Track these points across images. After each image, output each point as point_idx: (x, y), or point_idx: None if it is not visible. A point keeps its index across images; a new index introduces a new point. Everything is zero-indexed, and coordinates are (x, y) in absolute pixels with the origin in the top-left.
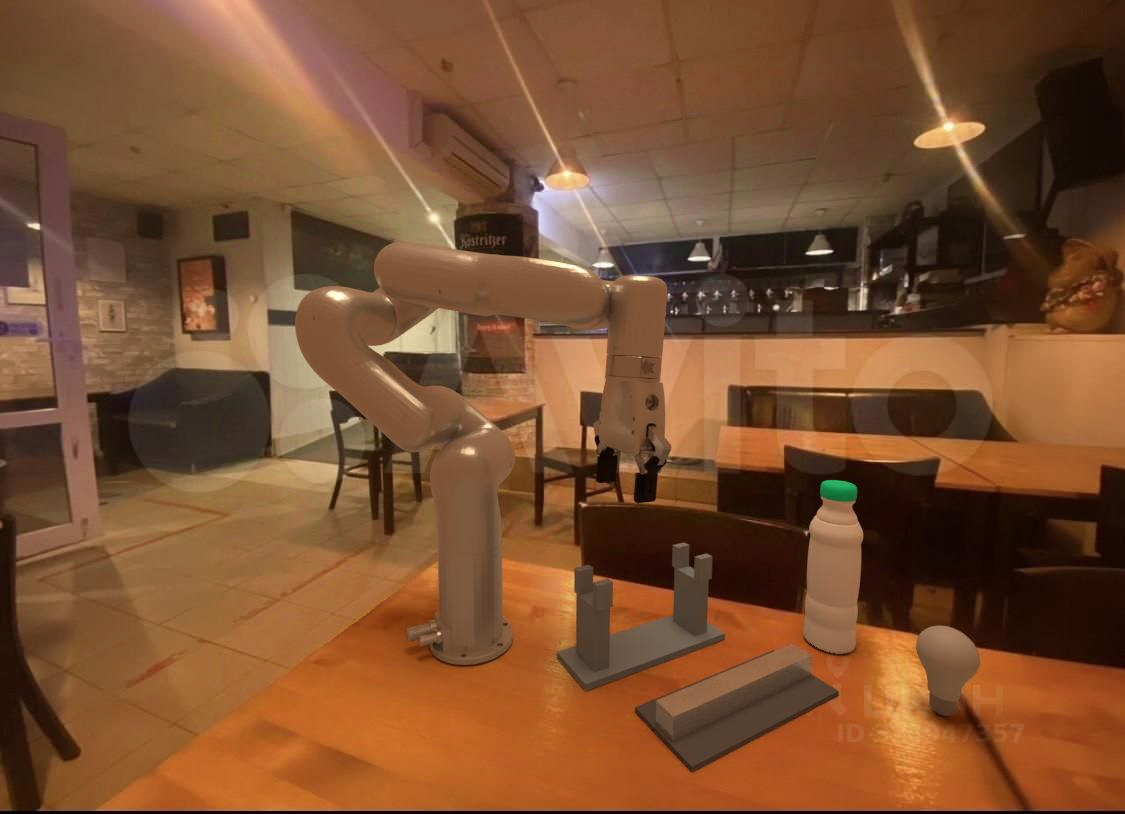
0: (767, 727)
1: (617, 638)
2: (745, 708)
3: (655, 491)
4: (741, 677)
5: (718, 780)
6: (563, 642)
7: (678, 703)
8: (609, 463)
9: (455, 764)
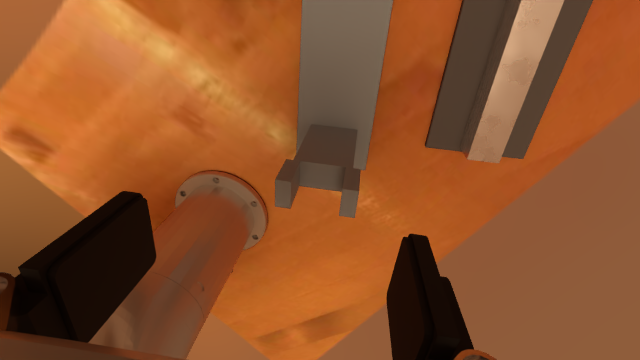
0: (575, 37)
1: (312, 76)
2: None
3: (432, 262)
4: (538, 24)
5: (547, 143)
6: (272, 132)
7: (491, 143)
8: (93, 283)
9: (369, 280)
